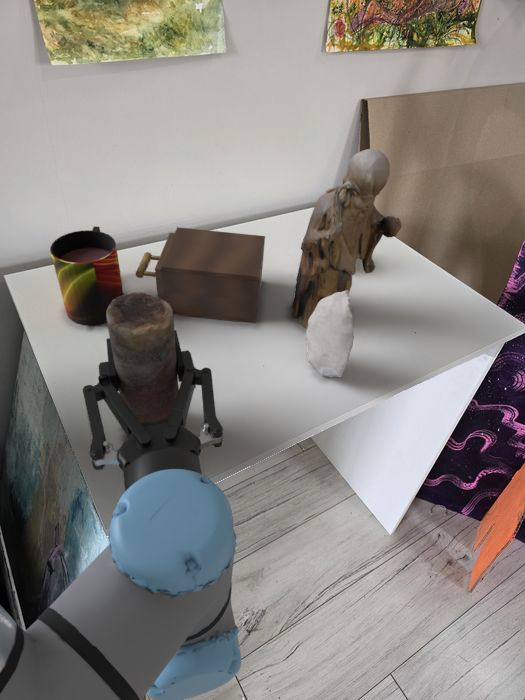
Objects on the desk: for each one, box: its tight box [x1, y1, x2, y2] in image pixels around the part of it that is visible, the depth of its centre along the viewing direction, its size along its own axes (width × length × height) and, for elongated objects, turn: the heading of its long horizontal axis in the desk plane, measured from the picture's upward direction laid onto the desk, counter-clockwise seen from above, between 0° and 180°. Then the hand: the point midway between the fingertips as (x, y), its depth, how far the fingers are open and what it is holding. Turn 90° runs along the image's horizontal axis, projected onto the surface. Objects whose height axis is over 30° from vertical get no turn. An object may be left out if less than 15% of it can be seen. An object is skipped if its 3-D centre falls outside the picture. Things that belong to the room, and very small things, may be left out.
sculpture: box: [291, 148, 403, 329], centre depth 76 cm, size 16×11×30 cm
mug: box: [49, 225, 125, 327], centre depth 81 cm, size 10×14×12 cm
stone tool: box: [304, 290, 355, 378], centre depth 71 cm, size 9×3×15 cm, turn 41°
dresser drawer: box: [134, 232, 175, 300], centre depth 85 cm, size 19×11×8 cm, turn 86°
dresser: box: [161, 226, 266, 324], centre depth 85 cm, size 16×13×10 cm
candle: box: [106, 291, 180, 423], centre depth 60 cm, size 8×7×20 cm
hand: (142, 342), depth 62 cm, fingers closed on candle, 7 cm apart
